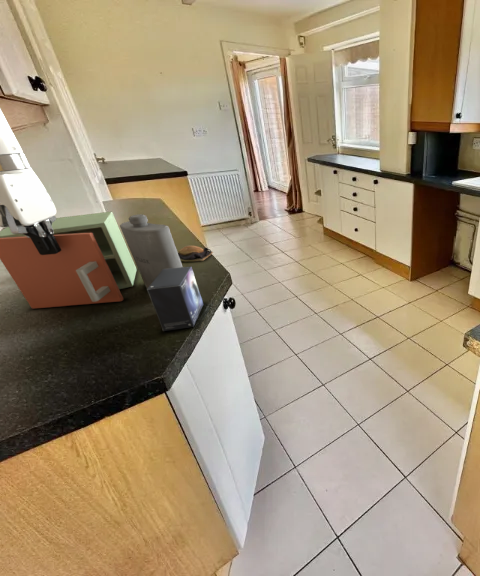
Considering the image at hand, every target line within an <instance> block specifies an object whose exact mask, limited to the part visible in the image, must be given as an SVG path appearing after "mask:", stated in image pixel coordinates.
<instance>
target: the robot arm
mask: <svg viewBox="0 0 480 576" xmlns="http://www.w3.org/2000/svg"><path fill="white" fill-rule="evenodd" d="M7 120H8V119H7V118H6V117H5V114H4V113H3V111H2V108H0V228H7V227H9V228H10V230H11V233H12V234H24V235H26V237H27V238H31V240H32V242H33V243H34V245H35V247H36V248H37V250H38V252H39V254H40V255H49V254H57V253H58V252H60V251H61V248H60V246H59V244H58V243H57V241H56V239H55V237H54V235H53V233H54V231H53V228H52V223H53V222H54V221H55V220H56V218H57V217H56V215H57V212H58V211H57V207H56V205H55V203H54V201H53V199H52V198H51V196H50V194H49V192H48V191H47V189H46V187H45V186H44V184H43V182H42V180H40V178H39V177H38V175H37V174H36V173H35V171H34V169H33V168H32V166H31V164H30V163H29V160H28V159H27V157H26V154H25V153H24V151H23V149H22V147H21V145H20V143H19V141H18V139H17V138H16V136H15V135H16V134H14V131H13V130H12V128H11V127H10V124H9V122H8V121H7Z"/></svg>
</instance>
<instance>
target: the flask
mask: <svg viewBox="0 0 480 576" xmlns="http://www.w3.org/2000/svg"><path fill="white" fill-rule="evenodd" d="M119 229H120V231H121V233H122V236H123V238H124V240H125V243H126V245H127V247H128V250H129V252H130V254H131V257H132V259H133V261H134V264H135V266H136V268H137V271H138V273H139V274H140V277H141V280H142V282H143V284H144V286H145V288H146V289H147V288H148V287H149V286H150V284H151V283H152V282H153V281H154V279H155V278H156V277H157V276H158V275H159V273H160V272H161V271H162V269H169V268H181V267H184V266H183V264H182V261H180V258H179V255H178V253H179V252H178V249H177V247H176V244H175V241H174V238H173V236H172V233H171V229H170V227H169V226H168V225H165V224H158V223H151V222H149V219H148V217H147V215H145V214H144V213H143V214H142V213H141V214H138V213H137V214H132V215H130V216H129V218H128V221H124V222H122V223H121V224H119Z"/></svg>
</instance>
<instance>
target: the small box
mask: <svg viewBox="0 0 480 576" xmlns="http://www.w3.org/2000/svg"><path fill="white" fill-rule="evenodd" d="M146 291H147V295H148V297H149V298H150V301H151V304H152V306H153V309H154V311H155V313H156V316H157V318H158V321H159V324H160V326H161V329H162V332H168V331H174V330H181V329H189V328H194V327H195V325H196V323H197V321H198V318H199V315H200V314H201V311H202V308H203V306H204V302H203V298H202V296H201V291H200V289H199V286H198V283H197V280H196V277H195V273H194V270H193V267H192V266H183V267H181V268H169V269H162V271H161V272H160V273H159V275H158V276H157V277H156V278H155V279H154V281H153V282H152V283H151V284H150V286H149V287H148V288H146Z"/></svg>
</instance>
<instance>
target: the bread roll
mask: <svg viewBox="0 0 480 576" xmlns="http://www.w3.org/2000/svg"><path fill="white" fill-rule="evenodd" d="M207 250H208V251H207ZM177 252H178V255H179V258H180V261H181V262H191V263H194V262H203V261H205V260H206V259H208V258H209V257H210V256H211V255H212V254H213V253H214V252H213V251H212V250H211V249H210V248H208V247H204V248H202V247H200V246H197V245H185V246H184V247H182V248H181V249H179V250H177ZM209 253H210V254H209Z"/></svg>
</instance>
